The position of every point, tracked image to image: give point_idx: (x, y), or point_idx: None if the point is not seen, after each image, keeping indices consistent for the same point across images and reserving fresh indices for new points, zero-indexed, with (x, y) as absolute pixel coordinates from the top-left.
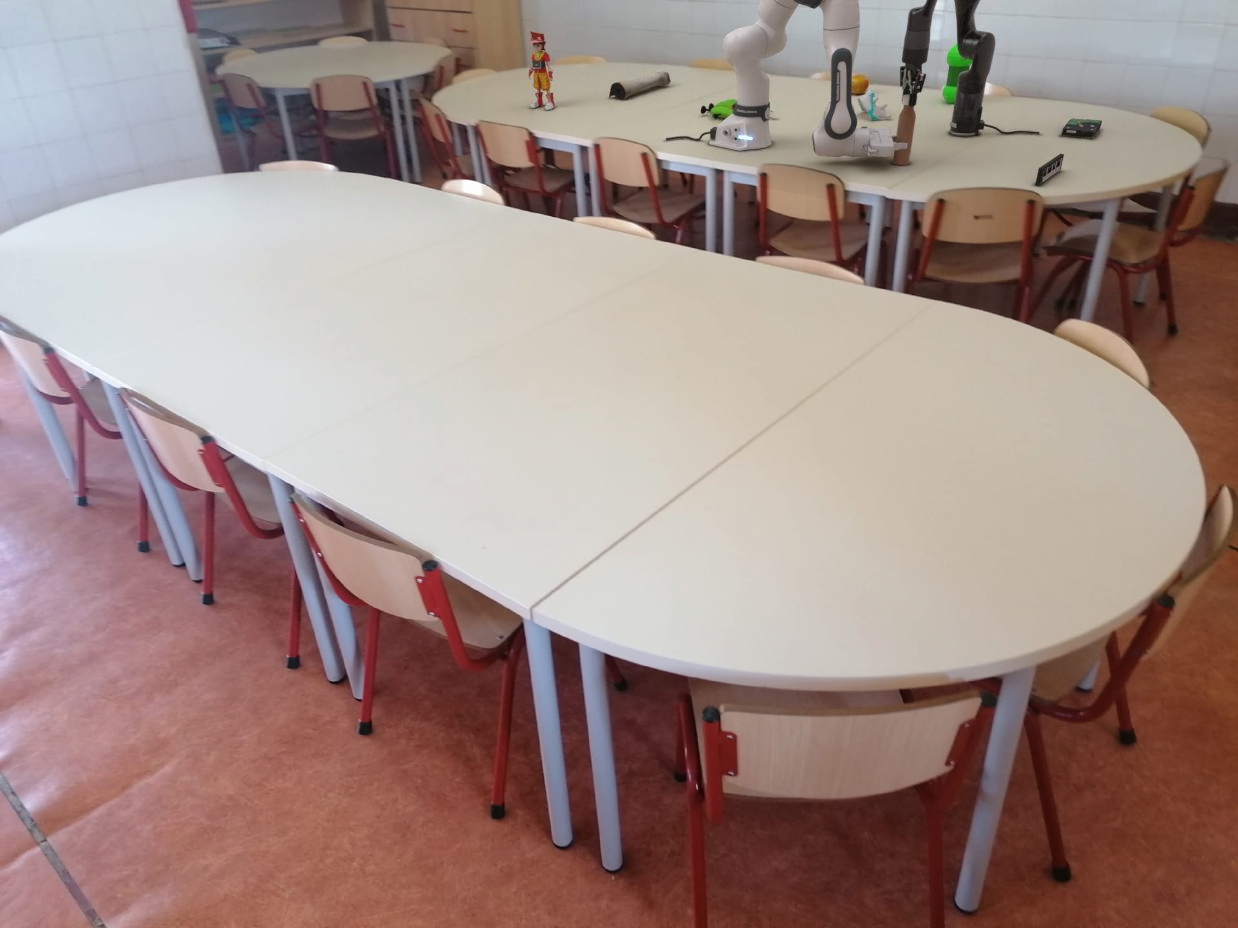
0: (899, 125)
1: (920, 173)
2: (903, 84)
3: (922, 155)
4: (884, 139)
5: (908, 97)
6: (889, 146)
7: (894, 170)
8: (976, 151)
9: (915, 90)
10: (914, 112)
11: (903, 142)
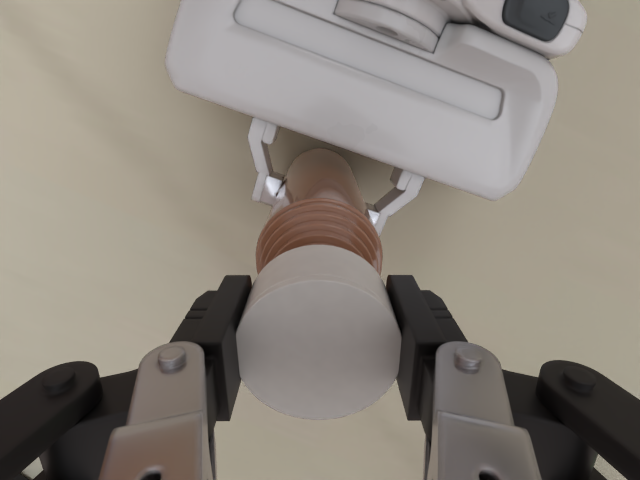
0: (307, 186)
1: (167, 199)
2: (485, 400)
3: None
4: (307, 80)
5: (257, 314)
6: (166, 52)
7: (231, 115)
8: (357, 454)
9: (17, 408)
10: None
11: (270, 185)
